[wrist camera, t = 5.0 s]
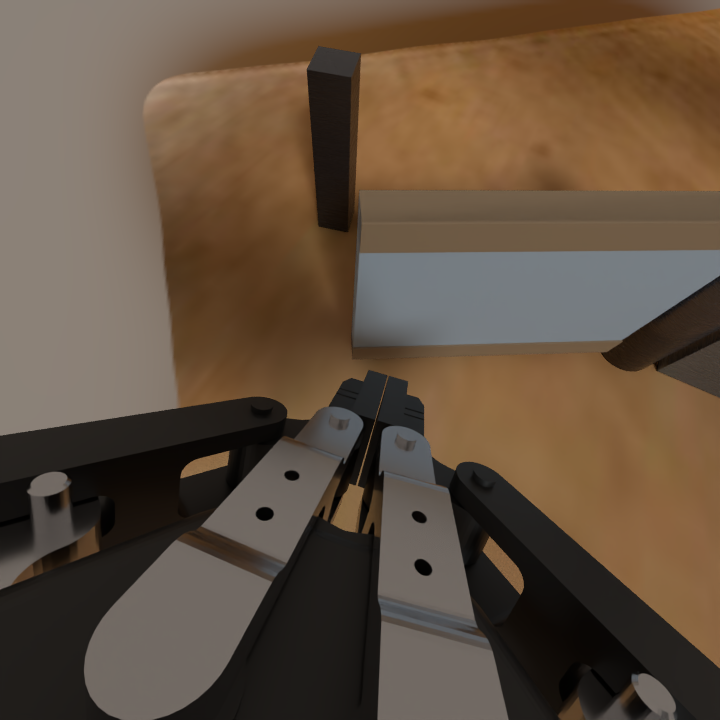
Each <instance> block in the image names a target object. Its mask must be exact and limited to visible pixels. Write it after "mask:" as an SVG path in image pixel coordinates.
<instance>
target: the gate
mask: <svg viewBox="0 0 720 720" xmlns="http://www.w3.org/2000/svg"><path fill="white" fill-rule="evenodd" d="M718 276H720V191H477V190H359V203H358V227H357V245H356V263H355V281H354V299H353V318H352V332H351V340H352V359H383V358H417V357H452V356H486V355H521V354H555V353H590V352H608V351H609V350H611V349H612V348H614V347H615V346H617V345H619V344H620V343H622V342H623V341H622V340H623V339H624V338H626V337H627V336H629V335H630V334H632V333H633V332H635V331H637V330H638V329H640V328H641V327H643V326H644V325H646V324H647V323H649V322H650V321H652V320H653V319H655V318H656V317H658V316H659V315H661V314H662V313H664V312H665V311H667V310H668V309H670V308H671V307H673V306H674V305H676V304H677V303H679V302H680V301H682V300H684V299H685V298H687V297H688V296H690V295H691V294H693V293H694V292H696V291H697V290H699V289H700V288H702V287H703V286H705V285H706V284H708V283H709V282H711V281H712V280H714V279H715V278H717V277H718Z"/></svg>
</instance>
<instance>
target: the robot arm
mask: <svg viewBox="0 0 720 720" xmlns="http://www.w3.org/2000/svg"><path fill="white" fill-rule="evenodd" d="M386 379H387V375H384V374H381V373H377V372H374V371H371V370H369V371H368V373H367V375H366V378H365V380H364V382H363V381H360V380H356V379H353V378H351V379H348V380H346V381H344V382H343V383H342V384H341V386H340V388H339V390H338V391H337V393H336V395H335V396H334V398H333V400H332V402H331V403H330V405H329V407H324V408H321V409H320V410H318V411H317V412H316V413H315V415H314V416H313V417H312V418H311V419H310V420H297V419H288V418H286V417H287V409H286V407H285V406H284V405H283V404H281V403H280V402H278V401H276V400H273V399H270V398H265V397H248V398H242V399H235V400H229V401H223V402H216V403H210V404H203V405H197V406H190V407H184V408H177V409H171V410H164V411H158V412H151V413H146V414H138V415H132V416H125V417H119V418H113V419H106V420H99V421H93V422H87V423H80V424H74V425H67V426H61V427H54V428H48V429H41V430H35V431H28V432H22V433H16V434H9V435H3V436H0V720H720V668H718V667H717V666H716V665H715V664H714V663H713V662H712V661H711V660H709V659H708V658H707V657H706V656H705V655H704V654H703V653H701V652H700V651H699V650H698V649H697V648H696V647H695V646H694V645H692V644H691V643H690V642H689V641H688V640H687V639H686V638H684V637H683V636H682V635H681V634H680V633H679V632H678V631H676V630H675V629H674V628H673V627H672V626H671V625H670V624H669V623H667V622H666V621H665V620H664V619H663V618H662V617H661V616H659V615H658V614H657V613H656V612H655V611H654V610H653V609H651V608H650V607H649V606H648V605H647V604H646V603H645V602H644V601H642V600H641V599H640V598H639V597H638V596H637V595H636V594H634V593H633V592H632V591H631V590H630V589H629V588H628V587H626V586H625V585H624V584H623V583H622V582H621V581H620V580H619V579H617V578H616V577H615V576H614V575H613V574H612V573H611V572H609V571H608V570H607V569H606V568H605V567H604V566H603V565H601V564H600V563H599V562H598V561H597V560H596V559H595V558H594V557H592V556H591V555H590V554H589V553H588V552H587V551H586V550H584V549H583V548H582V547H581V546H580V545H579V544H578V543H576V542H575V541H574V540H573V539H572V538H571V537H570V536H569V535H567V534H566V533H565V532H564V531H563V530H562V529H561V528H559V527H558V526H557V525H556V524H555V523H554V522H553V521H551V520H550V519H549V518H548V517H547V516H546V515H545V514H544V513H542V512H541V511H540V510H539V509H538V508H537V507H536V506H534V505H533V504H532V503H531V502H530V501H529V500H528V499H527V498H525V497H524V496H523V495H522V494H521V493H520V492H519V491H517V490H516V489H515V488H514V487H513V486H512V485H511V484H509V483H508V482H507V481H506V480H505V479H504V478H503V477H502V476H500V475H499V474H498V473H497V472H495V471H494V470H492V469H490V468H488V467H486V466H484V465H481V464H478V463H474V462H463V463H460V464H459V465H458V466H457V468H456V470H455V471H454V470H453V469H451V468H449V467H447V466H445V465H443V464H441V463H440V462H438V461H437V460H435V459H434V458H433V457H432V456H431V450H430V445H429V443H428V441H427V440H426V438H424V405H423V404H422V402H421V401H420V399H419V398H417V397H413V396H410V395H407V386H408V381H405V380H401V379H398V378H394V377H391V376H389V378H388V381H387V385H386V388H385V391H384V395H383V398H382V401H381V405H380V408H379V404H380V400H381V397H382V393H383V390H384V386H385V383H386ZM378 408H379V411H378ZM377 411H378V415H377ZM376 415H377V418H376ZM375 418H376V422H375ZM374 422H375V425H374ZM373 425H374V429H373ZM372 429H373V432H372ZM371 432H372V436H371V440H370V443H369V447H368V451H367V454H366V458H365V462H364V465H363V469H362V473H361V476H360V480H359V483H358V486H359V487H362V488H364V492H363V496H362V499H361V502H360V506H359V509H358V516H357V524H356V531H355V532H348V531H344V530H342V529H340V528H338V527H336V526H334V525H333V524H332V523H333V521H334V518H335V516H336V514H337V512H338V509H339V507H340V505H341V502H342V498H343V495H344V493H345V492H346V491H347V489H348V486H349V483H350V484H353V485H356V483H357V479H358V476H359V472H360V469H361V466H362V462H363V459H364V456H365V452H366V449H367V445H368V442H369V439H370V435H371ZM226 451H230V452H229V459H228V465H227V466H224V467H220V468H217V469H213V470H210V471H206V472H203V473H199V474H196V475H192V476H188V477H185V478H181V479H180V476H181V472H182V470H183V469H184V467H185V466H186V465H187V464H189V463H190V462H191V461H193V460H195V459H198V458H202V457H206V456H210V455H214V454H218V453H222V452H226ZM489 536H490V537H491V538H492V539H493V540H494V541H495V542H496V543H497V545H498V546H499V547H500V548H501V549H502V550H503V551H504V552H505V553H506V554H507V555H508V557H509V558H510V559H511V560H512V561H513V562H514V563H515V564H516V565H517V567H518V568H519V570H520V572H521V574H522V576H523V580H524V589H523V592H522V594H521V595H520V594H519V593H518V592H517V591H516V589H515V588H514V587H513V586H512V585H511V584H510V583H509V581H508V580H507V579H506V578H505V577H504V576H503V574H502V573H501V572H500V571H499V570H498V569H497V567H496V566H495V565H494V564H493V563H492V562H491V560H490V559H489V558H488V557H487V556H486V555H485V554H484V552H483V551H482V550H483V548H484V546H485V544H486V542H487V540H488V538H489Z"/></svg>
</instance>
